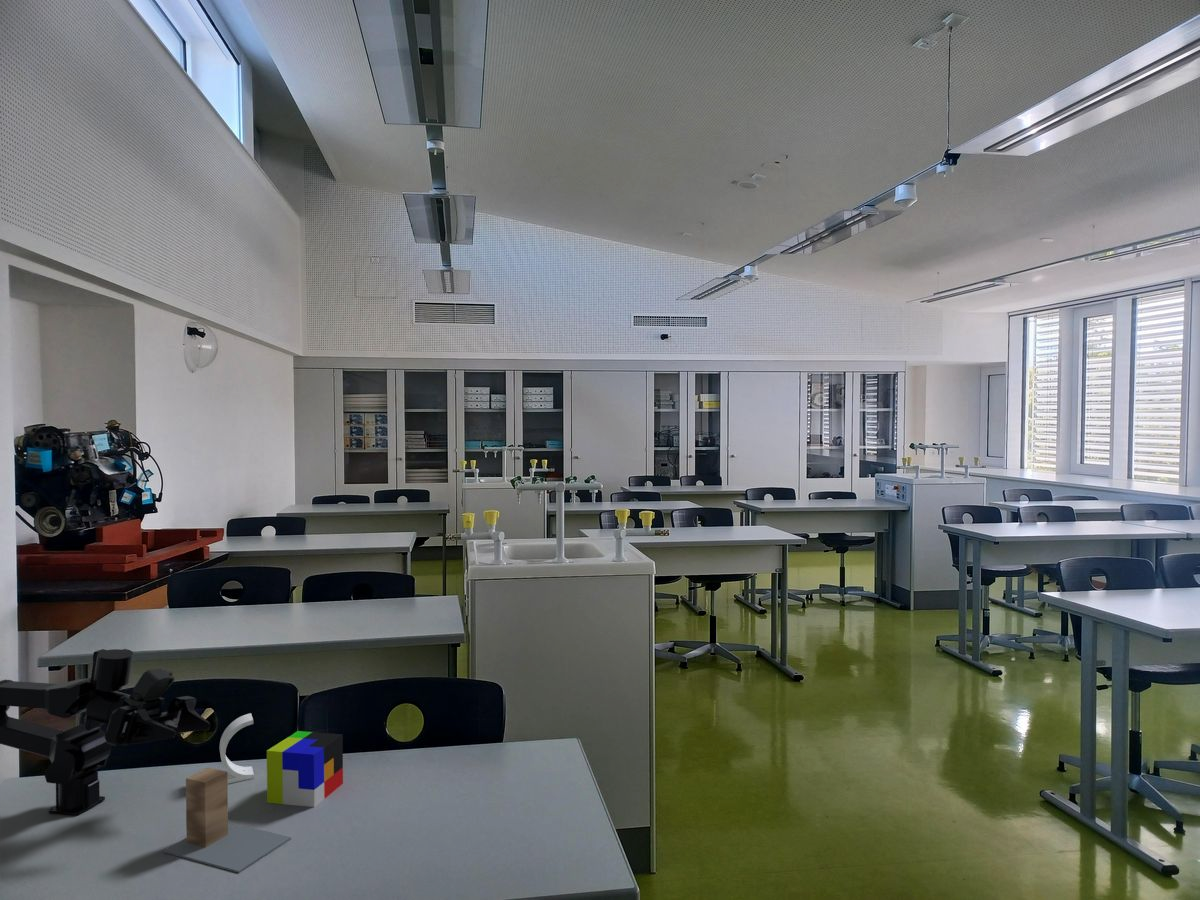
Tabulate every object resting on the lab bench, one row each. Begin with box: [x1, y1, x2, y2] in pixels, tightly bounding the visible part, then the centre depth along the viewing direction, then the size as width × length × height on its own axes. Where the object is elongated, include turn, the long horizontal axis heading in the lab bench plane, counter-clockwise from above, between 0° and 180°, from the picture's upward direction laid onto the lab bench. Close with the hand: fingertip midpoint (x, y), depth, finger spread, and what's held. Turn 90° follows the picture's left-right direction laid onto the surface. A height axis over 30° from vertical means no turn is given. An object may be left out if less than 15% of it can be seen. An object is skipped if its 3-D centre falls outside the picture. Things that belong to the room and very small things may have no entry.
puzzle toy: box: [266, 730, 344, 808], centre depth 146 cm, size 10×10×10 cm
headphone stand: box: [219, 712, 255, 785], centre depth 153 cm, size 5×6×12 cm
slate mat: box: [163, 821, 292, 874], centre depth 127 cm, size 17×11×1 cm, turn 68°
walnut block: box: [185, 767, 229, 847], centre depth 129 cm, size 4×4×11 cm
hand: (192, 730), depth 136 cm, fingers open, 9 cm apart
